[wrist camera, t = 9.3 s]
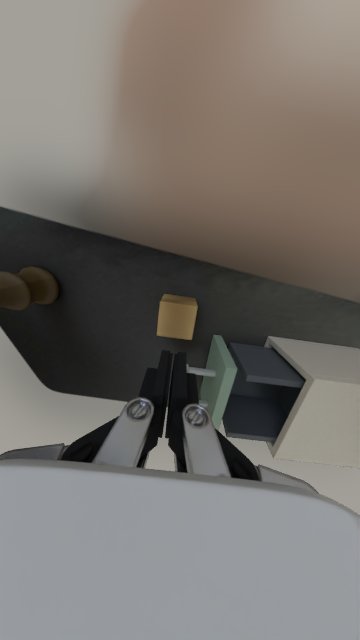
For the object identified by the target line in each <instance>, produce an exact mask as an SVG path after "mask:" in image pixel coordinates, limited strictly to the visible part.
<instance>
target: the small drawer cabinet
mask: <svg viewBox="0 0 360 640" xmlns="http://www.w3.org/2000/svg"><path fill="white" fill-rule="evenodd" d="M264 347H269V348H274V349H276V350H277V351H278V352H279V353H280V354H281V355H282V356H283V357H284V358H285V359H286V360H287V361H288V362H289V363H290V364H291V365H292V366H293V367H294V368H295V369H296V370H297V371H298V372H299V373H300V374H301V375H302V376H303V377H304V378H305V379H306V382H305V384H304V386H303V388H302V390H301V392H300V394H299V396H298V398H297V400H296V402H295V404H294V406H293V408H292V410H291V412H290V414H289V416H288V418H287V420H286V422H285V424H284V426H283V428H282V430H281V432H280V434H279V436H278V438H277V440H276V442H267V441H266V443H267V445H268V447H269V450H270V451H271V454H272V456H273V459H281V460H289V461H299V462H307V463H315V464H324V465H334V466H342V467H350V468H359V469H360V349H358V348H352V347H345V346H338V345H330V344H323V343H316V342H308V341H301V340H294V339H286V338H279V337H272V336H268V337H267V340H266V343H265V345H264Z"/></svg>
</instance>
